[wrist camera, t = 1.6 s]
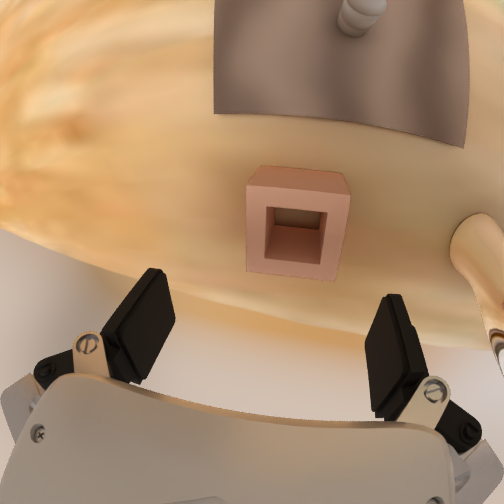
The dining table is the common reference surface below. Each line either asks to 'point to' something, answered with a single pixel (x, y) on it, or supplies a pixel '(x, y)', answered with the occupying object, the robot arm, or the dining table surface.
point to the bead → (293, 238)
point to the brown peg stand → (346, 62)
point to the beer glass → (483, 272)
